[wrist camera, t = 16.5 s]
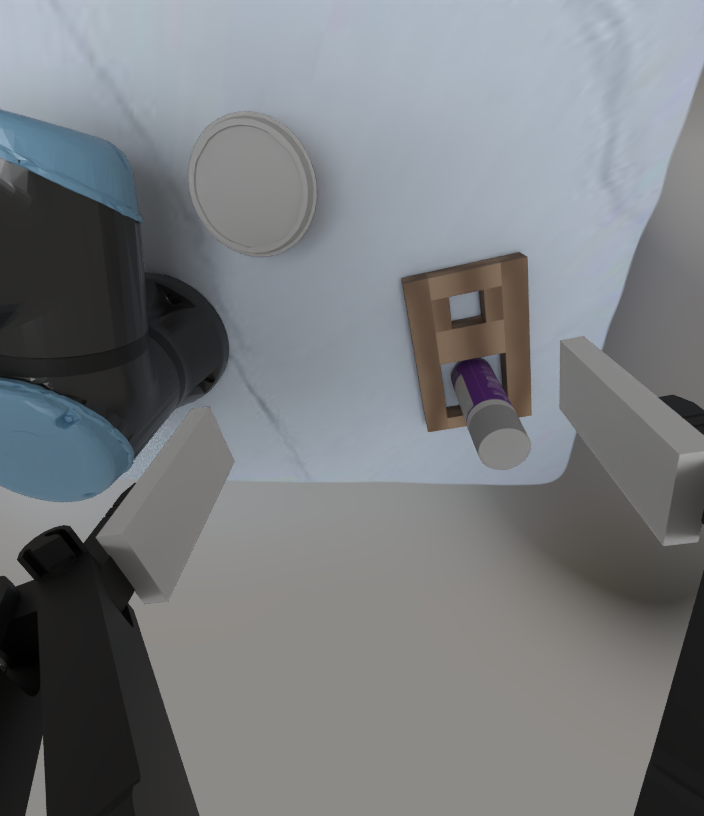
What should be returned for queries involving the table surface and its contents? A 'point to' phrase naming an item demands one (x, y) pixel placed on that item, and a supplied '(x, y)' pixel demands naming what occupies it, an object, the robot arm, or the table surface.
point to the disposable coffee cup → (252, 184)
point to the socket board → (471, 330)
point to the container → (489, 415)
